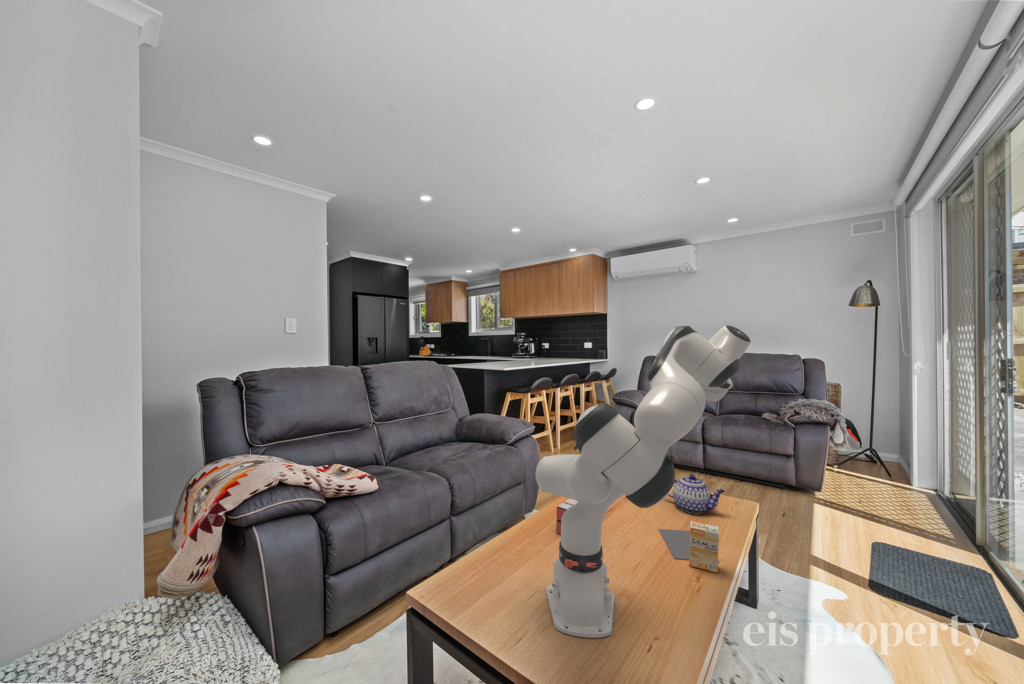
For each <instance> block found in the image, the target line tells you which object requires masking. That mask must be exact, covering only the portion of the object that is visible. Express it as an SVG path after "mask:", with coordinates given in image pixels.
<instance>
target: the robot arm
mask: <svg viewBox="0 0 1024 684" xmlns="http://www.w3.org/2000/svg"><path fill="white" fill-rule="evenodd" d="M661 345H662V346H661V347H660V349H659V351H658V353H657V355H656V357H655V358H654V360H653V361H652V363H651V365H650V366H649V368H648V369H649V370H648V372H647V374H646V375H647V376H646V377H647V381H648V382H649V386H650V389H649V391H648V392H647V393H646V394H645V395H644V396H643V398H642V400H641V401H640V403H639V404H638V406H637V408H636V410H635V413H634V416H633V422H634V425H633V424H632V423H631V422H629V420H627V418H625V417H623V416H622V414H620V412H619V410H618V409H616V408H615V407H614V406H612V405H611V404H610V403H607V402H601V403H599V404H596V405H595V404H594V405H593V406H589V407H588V408H587V409H585V411H583V412H582V413H581V414H580V416H579V418H578V419H577V421H576V424H575V425H574V428H573V439H574V443H575V445H574V447H573V450H574V451H576V450H578V452H579V454H576V453H574V454H573V453H570V454H569V453H567V454H566V453H565V454H563V453H562V454H560V453H559V454H551V455H546V456H542V458H541V459H539V461H538V463H537V465H536V468H535V480H536V483H537V485H538V488H539V489H540V490H541V492H544V493H547V494H550V495H554V496H559V497H562V498H566V499H573V500H576V501H577V502H579V503H578V504H576V505H574V506H572V507H570V508H568V509H567V510H566V511H565V512H564V514H563V515H562V518H561V535H560V540H559V545H558V558H557V559H556V560H555V561H554V562H553V573H552V580H553V581H552V584H551V585H548V586H547V587H546V588H545V594H546V598H547V602H548V606H549V610H550V614H551V619H552V623H553V627H554V629H556V630H557V631H559V632H561V633H564V634H565V635H569V636H575V637H580V638H589V639H590V638H591V639H592V638H593V639H594V638H595V639H597V638H599V639H600V638H604V637H608V636H610V635H612V633H613V624H614V610H615V608H614V607H615V599H616V598H615V594H614V593H613V592H612V590H610V588H608V587H607V586H608V585H607V584H610V577H608V576H607V575H608V566H607V565H606V564H605V563H604V561H603V557H604V551H603V546H602V534H603V533H602V530H603V523H604V519H605V516H606V513H607V511H608V510H609V509H610V507H611V506H612V505H613V504H614V503H615V502H616V501H617V500H618V499H619V500H620V498H622V497H623V496H625V498H626V499H627V500H628V501H629V502H631V503H632V504H634V505H635V506H636V507H638V508H641V509H648V508H650V507H652V506H656V505H658V504H659V503H661V502H662V501H664V500H665V499H666V498H667V496H668V494H669V493H670V492H671V490H672V489H673V486H674V480H676V470H675V466H674V463H675V461H676V458H675V455H674V454H671V455H669V454H668V450H669V448H670V447H671V446H672V445H674V444H676V443H677V442H678V441H679V440H682V438H684V437H685V436H686V435H688V433H690V432H691V430H693V428H694V427H695V426H696V424H697V423H698V422H699V420H700V418H701V417H702V415H703V413H704V411H705V409H706V402H707V401H709V402H718V401H720V400H722V398H724V397H725V395H726V394H727V393H728V392H729V390H731V389H732V388H733V387H734V384H733V380H732V379H731V377H732V376H733V375H734V374H736V373H737V372H738V371H739V370H740V362H739V360H740V359H741V357H742V356H743V355H744V354H745V352H746V351H747V350H748V348H749V346H750V345H751V339H750V336H748V335H747V334H746V333H745V332H743V331H742V330H741V329H739V328H737V327H735V326H733V325H724V326H722V327H721V328H720V329H719V330H718V331H716V333H714V335H712V336H711V338H710V339H706V338H705V337H704V336H702V335H700V333H698V331H696V330H695V329H693V328H692V327H691V326H690V325H680V326H676V327H674V328H673V329H671V330H670V331H669V332H668V333H667V335H665V337H664V339H663V342H662V344H661Z"/></svg>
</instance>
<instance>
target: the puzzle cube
mask: <svg viewBox="0 0 1024 684" xmlns="http://www.w3.org/2000/svg"><path fill="white" fill-rule="evenodd" d="M578 503H579V502H577V501H576V500H574V499H571V498H567V500H565V501H564V502H562V503H561V504H558V505H557V506H556V526H555V528H556V534H558V533H559V535H560V534H561V518H562V515H563V514H564V512H565V511H566V510H567V509H568V508H570V507H572V506H574V505H576V504H578Z"/></svg>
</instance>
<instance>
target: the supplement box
mask: <svg viewBox="0 0 1024 684" xmlns="http://www.w3.org/2000/svg"><path fill="white" fill-rule="evenodd" d="M719 528H720V527H719V526H716V525H711V524H708V523H704V522H703V523H702V522H698V521H694V520H690V522H689V531H690V549H689V560H688V566H689V567H692V568H698V569H701V570H706V571H708V572H711V573H716V574H718V570H719V569H718V566H719V563H718V561H719V544H720V543H719V542H720V539H719V537H720V532H719V530H720V529H719Z"/></svg>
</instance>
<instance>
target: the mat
mask: <svg viewBox="0 0 1024 684" xmlns="http://www.w3.org/2000/svg"><path fill="white" fill-rule="evenodd" d="M658 531H659V533H660V535H661V537H662V539H663V540H664V542H665V544H666V546H667V548H668V550H669V551H670V554H671V555H672V558H673V559H674V560H679V561H680V560H682V561H689V549H690V530H683V529H682V530H681V529H671V528H670V529H669V528H667V529H666V528H658ZM718 562H719V563H720V561H719V560H718Z"/></svg>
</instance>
